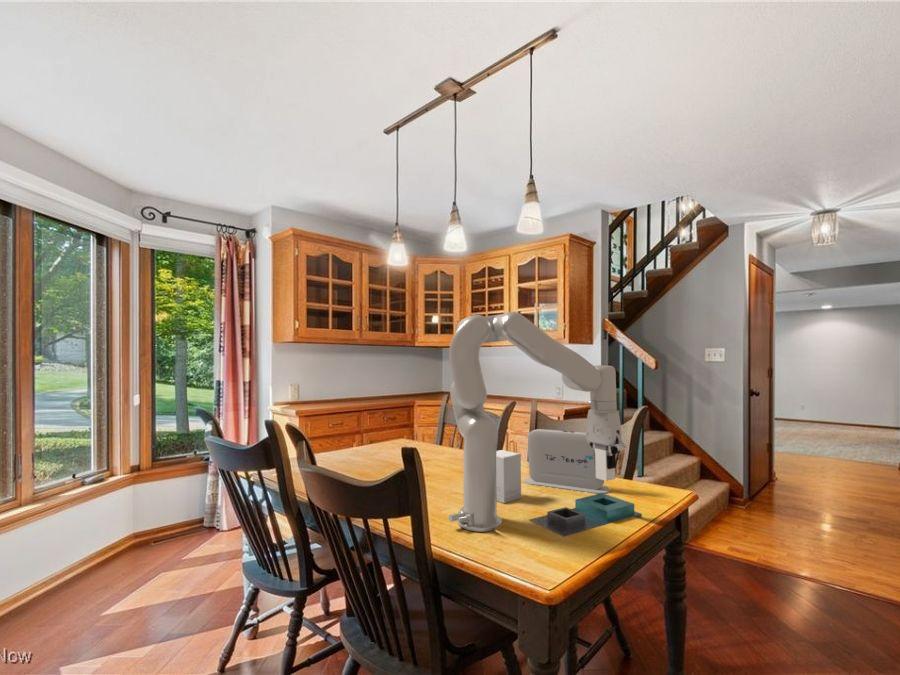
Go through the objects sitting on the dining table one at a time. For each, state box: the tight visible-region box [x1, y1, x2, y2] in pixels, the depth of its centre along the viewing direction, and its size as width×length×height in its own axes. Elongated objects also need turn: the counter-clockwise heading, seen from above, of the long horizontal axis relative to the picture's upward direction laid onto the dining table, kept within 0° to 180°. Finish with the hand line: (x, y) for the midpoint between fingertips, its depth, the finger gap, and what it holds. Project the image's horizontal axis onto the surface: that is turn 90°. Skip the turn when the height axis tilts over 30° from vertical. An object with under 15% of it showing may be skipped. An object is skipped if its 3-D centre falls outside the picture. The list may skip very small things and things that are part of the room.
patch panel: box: [528, 493, 643, 537], centre depth 134 cm, size 32×14×4 cm, turn 121°
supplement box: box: [496, 449, 522, 504], centre depth 154 cm, size 9×9×15 cm
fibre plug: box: [595, 443, 616, 482], centre depth 138 cm, size 4×4×14 cm
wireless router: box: [523, 428, 611, 495], centre depth 168 cm, size 31×10×20 cm, turn 62°
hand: (605, 466), depth 138 cm, fingers closed on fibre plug, 4 cm apart
